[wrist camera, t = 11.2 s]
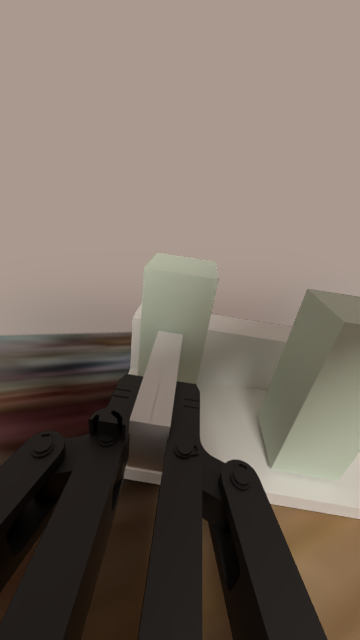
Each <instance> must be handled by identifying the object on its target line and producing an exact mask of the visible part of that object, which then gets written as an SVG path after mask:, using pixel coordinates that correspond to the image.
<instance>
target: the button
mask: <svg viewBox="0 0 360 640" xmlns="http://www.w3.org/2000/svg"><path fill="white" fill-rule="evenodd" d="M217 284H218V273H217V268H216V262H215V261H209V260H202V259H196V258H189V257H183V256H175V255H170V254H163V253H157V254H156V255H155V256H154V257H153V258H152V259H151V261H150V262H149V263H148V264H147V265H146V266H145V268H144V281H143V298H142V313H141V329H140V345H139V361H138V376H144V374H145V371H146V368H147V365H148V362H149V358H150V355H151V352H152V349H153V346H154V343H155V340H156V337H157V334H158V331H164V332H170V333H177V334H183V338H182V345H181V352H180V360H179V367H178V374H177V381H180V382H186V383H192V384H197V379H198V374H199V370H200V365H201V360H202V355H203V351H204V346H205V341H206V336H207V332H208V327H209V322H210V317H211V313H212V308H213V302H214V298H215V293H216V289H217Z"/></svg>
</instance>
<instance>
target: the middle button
mask: <svg viewBox="0 0 360 640" xmlns="http://www.w3.org/2000/svg"><path fill="white" fill-rule="evenodd" d="M258 419H259V423H260V427H261V431H262V435H263V439H264V443H265V447H266V451H267V455H268V459H269V464H270V468H271V469H272V470H278V471H284V472H290V473H296V474H302V475H308V476H314V477H320V478H326V479H332V480H339V479H340V478H341V476H342V475H343V473H344V472H345V471H346V469H347V468H348V467H349V465H350V464H351V463H352V461H353V460H354V459H355V457H356V456H357V455H358V453H359V452H360V297H357V296H351V295H344V294H338V293H331V292H325V291H318V290H311V289H307V291H306V294H305V296H304V299H303V302H302V304H301V307H300V309H299V312H298V314H297V317H296V319H295V322H294V324H293V327H292V330H291V332H290V335H289V337H288V340H287V342H286V345H285V347H284V350H283V352H282V355H281V358H280V360H279V363H278V365H277V368H276V370H275V373H274V375H273V378H272V380H271V383H270V386H269V388H268V391H267V393H266V396H265V398H264V401H263V403H262V406H261V408H260V411H259V414H258Z"/></svg>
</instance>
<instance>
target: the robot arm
mask: <svg viewBox="0 0 360 640" xmlns="http://www.w3.org/2000/svg"><path fill="white" fill-rule="evenodd" d="M182 338H183V334H177V333H170V332H164V331H158V334H157V337H156V340H155V343H154V346H153V349H152V352H151V355H150V358H149V362H148V365H147V368H146V371H145V374H144V376H137V375H131V374H126V375H125V376H124V377H122V378H121V379H120V380H119V382H118V384H117V386H116V389H115V391H114V393H113V396H112V398H111V400H110V402H109V404H108V406H107V408H103V409H99V410H98V411H96V412H95V413H93V414H92V415H91V417H90V418H89V433H87V434H85V435H82V436H78V437H70V438H63V436H62V435H61V434H60V433H58V432H56V431H43V432H41V433H38V434H36V435H34V436H33V437H31V438H30V439H29V440H27V441H26V442H25V443H24V444H23V445H22V446H21V447H20V448H19V449H18V450H17V451H16V452H15V453H14V454H13V455H12V456H11V457H10V458H9V459H8V460H7V461H6V462H5V463H4V464H3V465H2V466H1V467H0V592H1V591H2V589H3V588H4V586H5V585H6V583H7V582H8V581H9V579H10V578H11V576H12V575H13V573H14V572H15V570H16V569H17V568H18V566H19V565H20V563H21V562H22V560H23V559H24V557H25V556H26V555H27V553H28V552H29V550H30V549H31V547H32V546H33V544H34V543H35V542H36V540H37V539H38V537H39V536H40V534H41V533H42V531H43V530H44V529H45V531H44V533H43V535H42V537H41V539H40V541H39V543H38V545H37V548H36V550H35V552H34V554H33V556H32V558H31V560H30V562H29V565H28V567H27V569H26V571H25V573H24V575H23V577H22V580H21V582H20V584H19V586H18V588H17V590H16V592H15V594H14V597H13V599H12V601H11V603H10V605H9V607H8V609H7V611H6V614H5V616H4V618H3V620H2V622H1V624H0V640H80V639H81V636H82V632H83V628H84V625H85V621H86V617H87V614H88V610H89V606H90V603H91V599H92V595H93V592H94V588H95V584H96V581H97V577H98V573H99V570H100V566H101V562H102V559H103V555H104V551H105V548H106V544H107V540H108V537H109V533H110V529H111V526H112V522H113V518H114V515H115V511H116V507H117V504H118V500H119V496H120V493H121V489H122V485H123V481H124V472H125V468H126V465H127V467H133V468H140V469H146V470H152V471H158V472H162V476H161V483H160V489H159V495H158V503H157V510H156V517H155V523H154V530H153V537H152V544H151V551H150V557H149V564H148V571H147V578H146V585H145V591H144V598H143V605H142V612H141V619H140V625H139V632H138V639H137V640H202V518H203V519H205V520H207V521H208V524H209V529H210V533H211V538H212V543H213V547H214V552H215V557H216V561H217V566H218V571H219V575H220V580H221V585H222V590H223V594H224V599H225V604H226V608H227V613H228V618H229V622H230V627H231V632H232V636H233V640H327V637H326V635H325V633H324V630H323V628H322V625H321V623H320V621H319V618H318V616H317V614H316V611H315V609H314V606H313V604H312V602H311V599H310V597H309V595H308V592H307V590H306V588H305V585H304V583H303V580H302V578H301V576H300V573H299V571H298V569H297V566H296V564H295V562H294V559H293V557H292V554H291V552H290V550H289V547H288V545H287V543H286V540H285V538H284V535H283V533H282V531H281V528H280V526H279V524H278V521H277V519H276V517H275V514H274V512H273V509H272V507H271V505H270V502H269V500H268V498H267V495H266V493H265V491H264V488H263V486H262V483H261V481H260V479H259V476H258V475H257V473H256V471H255V470H254V469H253V468H252V467H251V466H250V465H249V464H248V463H246V462H244V461H242V460H236V459H233V460H230V461H227V462H226V463H224V462H222V461H220V460H218V459H216V458H215V457H213V456H211V455H210V454H209V453H208V452H207V451H206V450H205V449H204V448H203V446H202V444H201V441H200V391H199V389H198V387H197V385H196V384H192V383H186V382H180V381H177V374H178V367H179V360H180V352H181V345H182ZM45 527H46V528H45Z"/></svg>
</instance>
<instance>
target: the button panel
mask: <svg viewBox="0 0 360 640" xmlns="http://www.w3.org/2000/svg"><path fill="white" fill-rule="evenodd" d="M141 313H142V304H141V305H140V306H139V308H138V310H137V311H136V313H135V315H134V316H133V320H132V321H133V322H132V343H131V365H130V370H129V373H128V374H131V375H137V376H138V361H139V345H140V329H141ZM291 330H292V327H291V326H285V325H279V324H272V323H265V322H259V321H253V320H247V319H240V318H234V317H227V316H221V315H214V314H211V317H210V322H209V327H208V332H207V336H206V341H205V346H204V351H203V355H202V360H201V365H200V370H199V374H198V379H197V384H196V385H197V387H198V389H199V391H200V441H201V444H202V446H203V448H204V449H205V450H206V451H207V452H208V453H209V454H210V455H211V456H213V457H215V458H216V459H218V460H220V461H222V462H224V463H226V462H227V461H230V460H233V459H236V460H242V461H244V462H246V463H248V464H249V465H250V466H251V467H252V468H253V469H254V470H255V471H256V473H257V475H258V476H259V479H260V481H261V483H262V486H263V488H264V491H265V493H266V495H267V498H268V500H269V502H270V504H275V505H281V506H286V507H292V508H298V509H304V510H310V511H316V512H321V513H327V514H333V515H339V516H345V517H351V518H356V519H360V452H359V453H358V455H357V456H356V457H355V459H354V460H353V461H352V463H351V464H350V465H349V467H348V468H347V469H346V471H345V472H344V473H343V475H342V476H341V478H340V479H339V480H332V479H326V478H320V477H314V476H308V475H302V474H296V473H290V472H284V471H278V470H272V469H271V468H270V464H269V459H268V455H267V451H266V447H265V443H264V439H263V435H262V431H261V427H260V423H259V419H258V414H259V411H260V408H261V406H262V403H263V401H264V398H265V396H266V393H267V391H268V388H269V386H270V383H271V380H272V378H273V375H274V373H275V370H276V368H277V365H278V363H279V360H280V358H281V355H282V352H283V350H284V347H285V345H286V342H287V340H288V337H289V335H290V332H291ZM161 476H162V472H158V471H152V470H146V469H140V468H133V467H127V465H126V468H125V472H124V479H129V480H135V481H141V482H146V483H152V484H158V485H160V483H161Z"/></svg>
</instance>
